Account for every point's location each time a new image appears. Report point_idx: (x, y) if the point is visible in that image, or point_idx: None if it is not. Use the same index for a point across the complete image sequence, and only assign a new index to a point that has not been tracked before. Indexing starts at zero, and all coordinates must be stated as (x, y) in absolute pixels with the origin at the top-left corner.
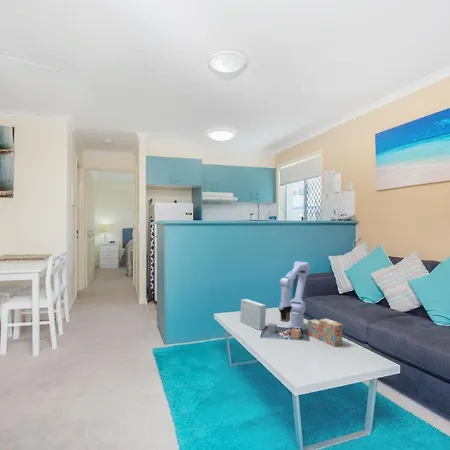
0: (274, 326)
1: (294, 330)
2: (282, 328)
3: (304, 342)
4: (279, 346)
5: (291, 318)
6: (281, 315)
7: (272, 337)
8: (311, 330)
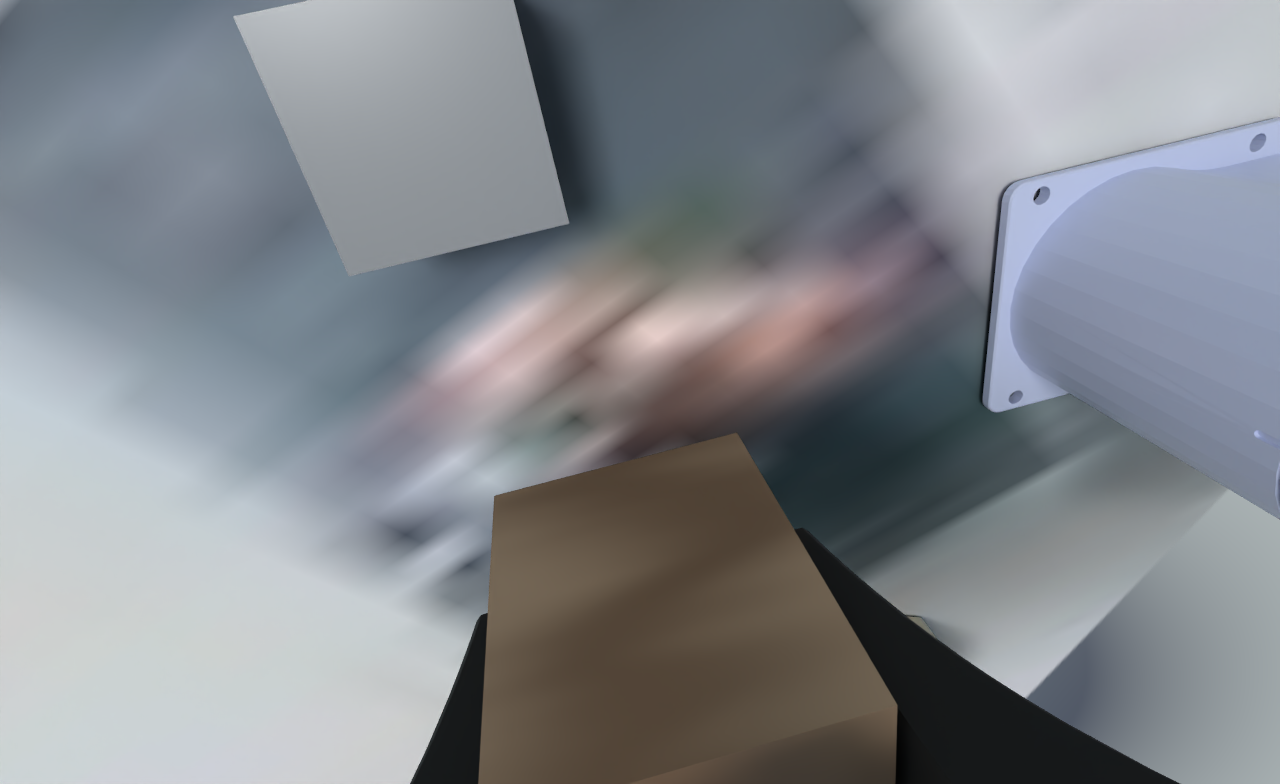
0: (387, 265)
1: None
2: (827, 147)
3: None
4: (3, 689)
5: (1221, 261)
6: (434, 754)
7: (164, 373)
8: None
